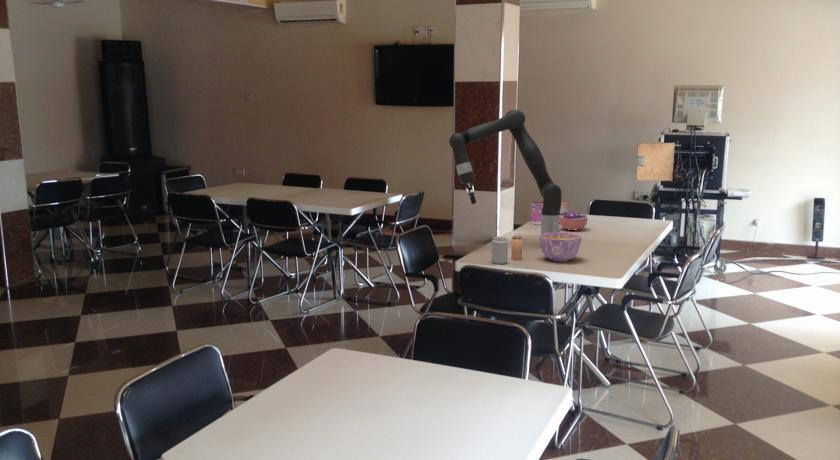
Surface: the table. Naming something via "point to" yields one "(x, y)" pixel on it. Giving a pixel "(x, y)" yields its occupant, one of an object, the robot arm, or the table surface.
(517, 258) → the jar
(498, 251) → the can
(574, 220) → the cell model
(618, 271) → the table surface
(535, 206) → the gum box
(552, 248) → the bowl of food
